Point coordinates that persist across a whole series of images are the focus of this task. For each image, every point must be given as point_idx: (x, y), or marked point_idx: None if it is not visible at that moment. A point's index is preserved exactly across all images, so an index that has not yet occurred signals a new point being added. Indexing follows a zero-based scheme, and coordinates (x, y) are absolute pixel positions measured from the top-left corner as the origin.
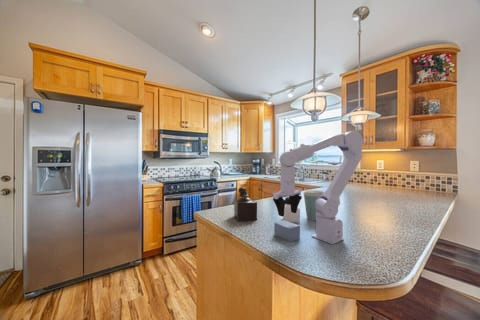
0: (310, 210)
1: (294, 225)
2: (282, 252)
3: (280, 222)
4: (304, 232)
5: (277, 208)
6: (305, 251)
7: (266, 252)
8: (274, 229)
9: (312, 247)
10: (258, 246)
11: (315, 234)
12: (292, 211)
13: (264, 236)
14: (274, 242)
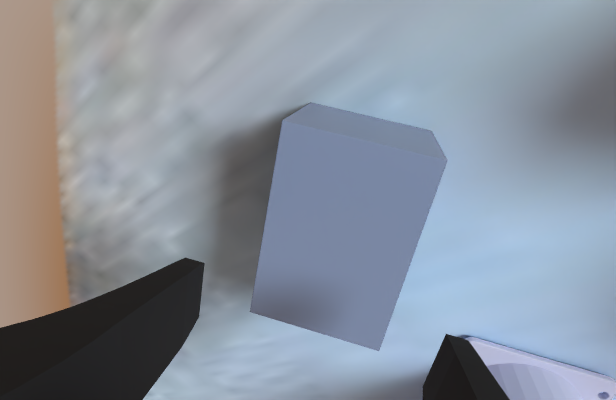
0: None
1: (347, 314)
2: (138, 271)
3: (334, 172)
4: (531, 272)
5: (102, 305)
6: (235, 353)
7: (73, 208)
8: (298, 111)
9: (304, 369)
10: (80, 130)
11: (503, 359)
12: (441, 362)
13: (226, 55)
14: (199, 178)
